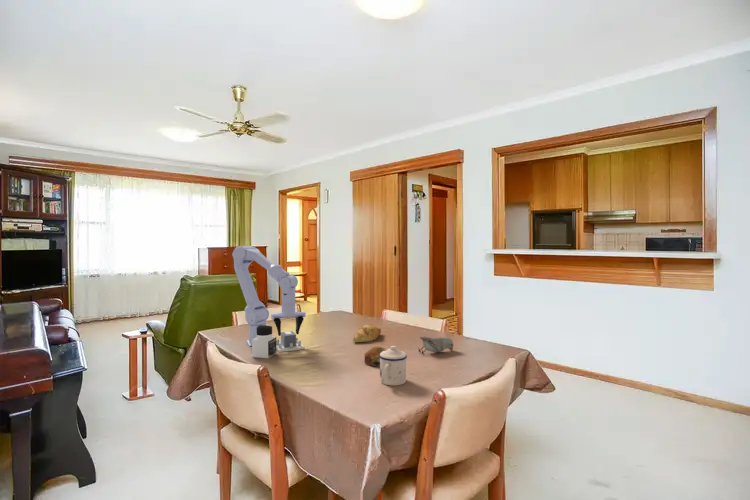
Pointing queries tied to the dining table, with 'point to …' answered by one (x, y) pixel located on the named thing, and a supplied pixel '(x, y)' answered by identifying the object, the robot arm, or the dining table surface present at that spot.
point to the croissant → (367, 333)
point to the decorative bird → (436, 344)
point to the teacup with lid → (393, 367)
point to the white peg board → (282, 349)
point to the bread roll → (373, 355)
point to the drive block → (288, 338)
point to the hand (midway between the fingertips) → (288, 334)
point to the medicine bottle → (264, 342)
